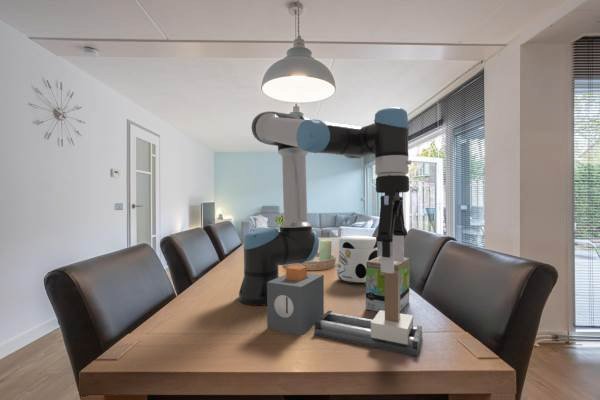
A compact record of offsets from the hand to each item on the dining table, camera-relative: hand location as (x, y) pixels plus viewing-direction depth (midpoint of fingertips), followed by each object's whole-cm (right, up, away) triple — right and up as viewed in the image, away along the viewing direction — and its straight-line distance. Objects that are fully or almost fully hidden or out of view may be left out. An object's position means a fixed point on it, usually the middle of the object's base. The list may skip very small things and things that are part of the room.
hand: (393, 266), depth 72 cm
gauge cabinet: (-23, -18, +12) cm, 31 cm away
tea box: (+6, -18, +25) cm, 32 cm away
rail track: (-5, -18, +3) cm, 19 cm away
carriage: (0, -16, 0) cm, 16 cm away
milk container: (+2, -18, +54) cm, 57 cm away
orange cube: (-23, -7, +12) cm, 27 cm away
